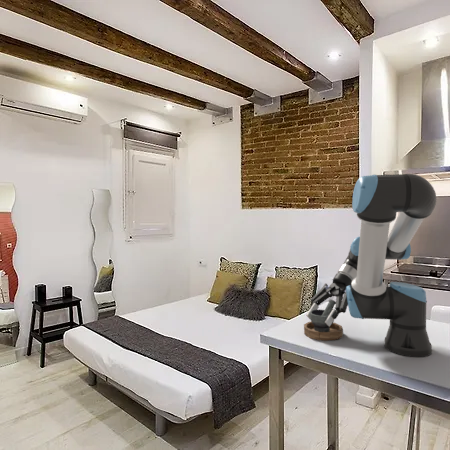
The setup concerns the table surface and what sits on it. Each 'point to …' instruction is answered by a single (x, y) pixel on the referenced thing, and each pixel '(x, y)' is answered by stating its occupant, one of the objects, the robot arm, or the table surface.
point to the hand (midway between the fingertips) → (317, 320)
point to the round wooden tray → (333, 334)
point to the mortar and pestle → (321, 317)
